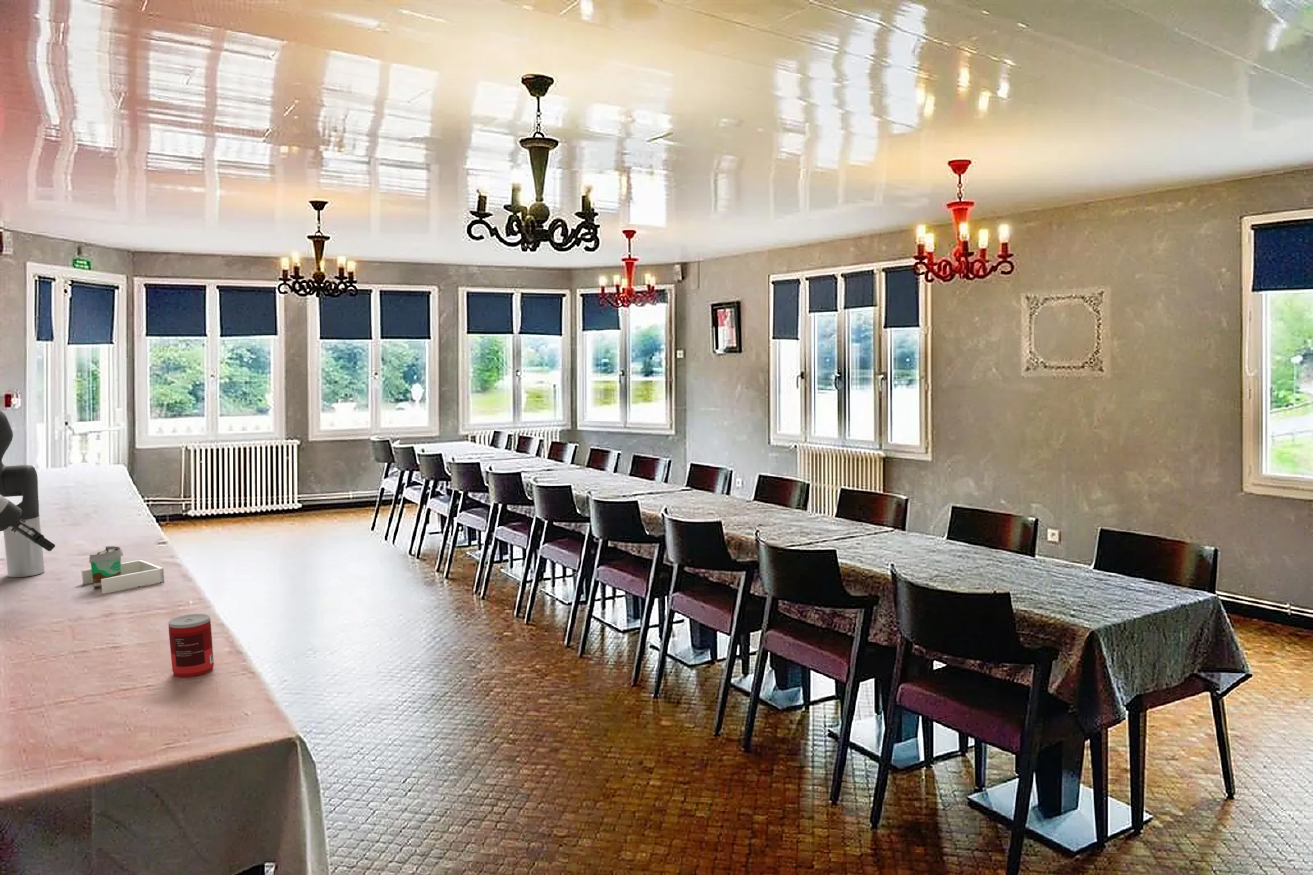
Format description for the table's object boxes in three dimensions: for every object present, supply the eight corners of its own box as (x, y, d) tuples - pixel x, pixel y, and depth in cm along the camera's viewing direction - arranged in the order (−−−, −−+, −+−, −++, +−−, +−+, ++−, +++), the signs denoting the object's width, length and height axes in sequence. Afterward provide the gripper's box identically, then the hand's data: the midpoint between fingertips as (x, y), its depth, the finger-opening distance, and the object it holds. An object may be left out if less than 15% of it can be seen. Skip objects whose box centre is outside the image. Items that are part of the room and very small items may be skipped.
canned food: (201, 662, 193) (197, 611, 191) (222, 669, 188) (218, 617, 187) (164, 673, 186) (160, 621, 185) (185, 680, 182) (181, 627, 181)
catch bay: (82, 583, 263) (81, 570, 263) (142, 572, 275) (141, 559, 274) (103, 593, 251) (101, 579, 251) (164, 581, 263) (163, 568, 262)
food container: (116, 588, 257) (112, 553, 256) (92, 590, 255) (88, 555, 254) (132, 577, 269) (129, 544, 268) (109, 579, 268) (106, 546, 266)
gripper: (13, 501, 237) (70, 540, 247) (-1, 495, 245) (55, 533, 256) (-10, 524, 233) (48, 563, 244) (-23, 518, 242) (34, 555, 252)
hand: (52, 548), depth 250 cm, fingers closed
